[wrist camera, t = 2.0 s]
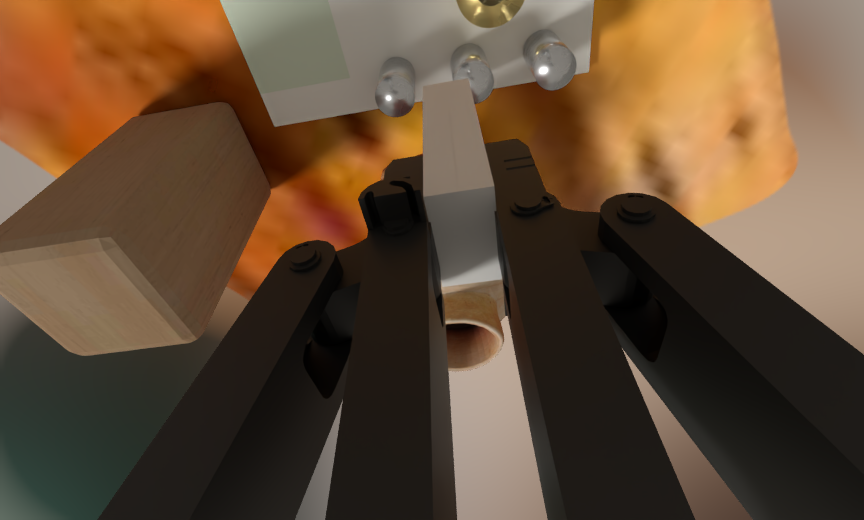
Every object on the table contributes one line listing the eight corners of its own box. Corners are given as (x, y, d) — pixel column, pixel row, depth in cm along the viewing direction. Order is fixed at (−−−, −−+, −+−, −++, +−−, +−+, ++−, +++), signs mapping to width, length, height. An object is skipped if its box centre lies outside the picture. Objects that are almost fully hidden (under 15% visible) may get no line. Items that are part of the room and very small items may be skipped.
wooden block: (187, 204, 45) (72, 363, 30) (128, 114, 39) (-56, 259, 24) (276, 190, 45) (203, 347, 30) (231, 95, 38) (108, 234, 23)
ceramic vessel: (497, 89, 38) (529, 176, 27) (518, 290, 55) (543, 395, 44) (349, 121, 40) (321, 214, 29) (414, 307, 57) (412, 411, 46)
